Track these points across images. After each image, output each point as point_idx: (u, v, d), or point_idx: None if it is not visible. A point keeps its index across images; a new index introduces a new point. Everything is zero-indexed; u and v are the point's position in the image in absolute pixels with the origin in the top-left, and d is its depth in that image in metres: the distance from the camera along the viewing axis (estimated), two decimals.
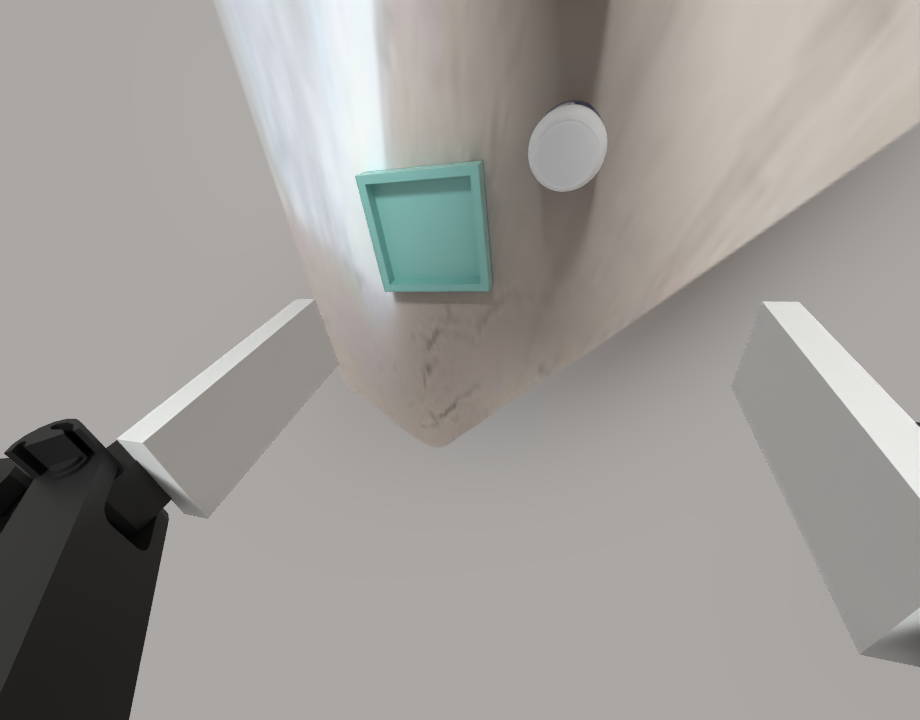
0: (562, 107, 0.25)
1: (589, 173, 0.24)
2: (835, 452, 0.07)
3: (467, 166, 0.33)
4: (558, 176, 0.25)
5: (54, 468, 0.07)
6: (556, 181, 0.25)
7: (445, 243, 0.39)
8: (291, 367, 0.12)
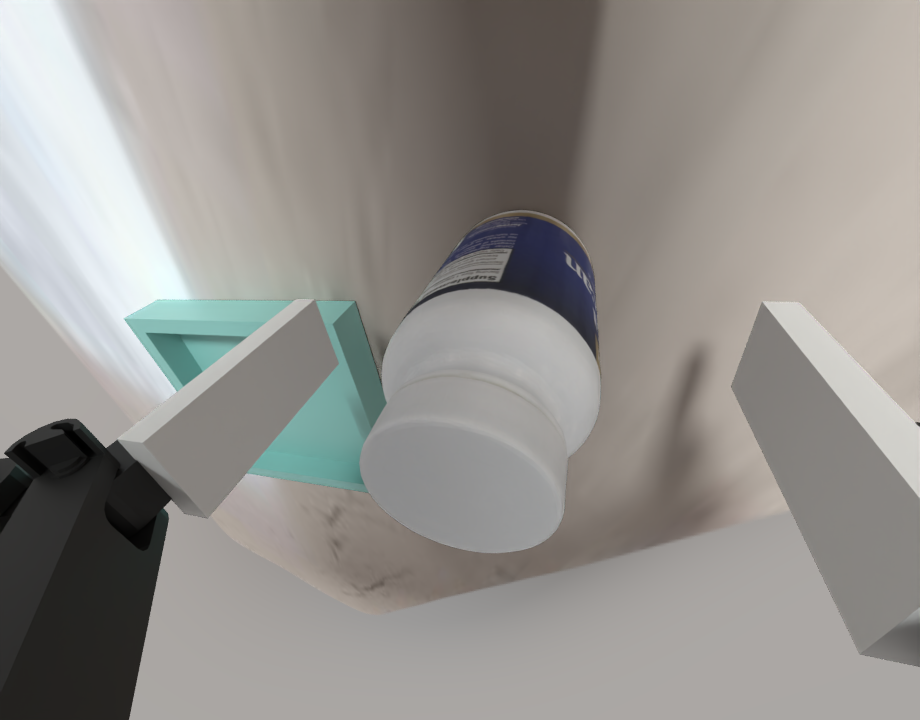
0: (456, 305, 0.08)
1: (538, 541, 0.07)
2: (835, 452, 0.07)
3: None
4: (443, 525, 0.08)
5: (54, 468, 0.07)
6: (440, 532, 0.08)
7: (317, 417, 0.22)
8: (291, 367, 0.12)
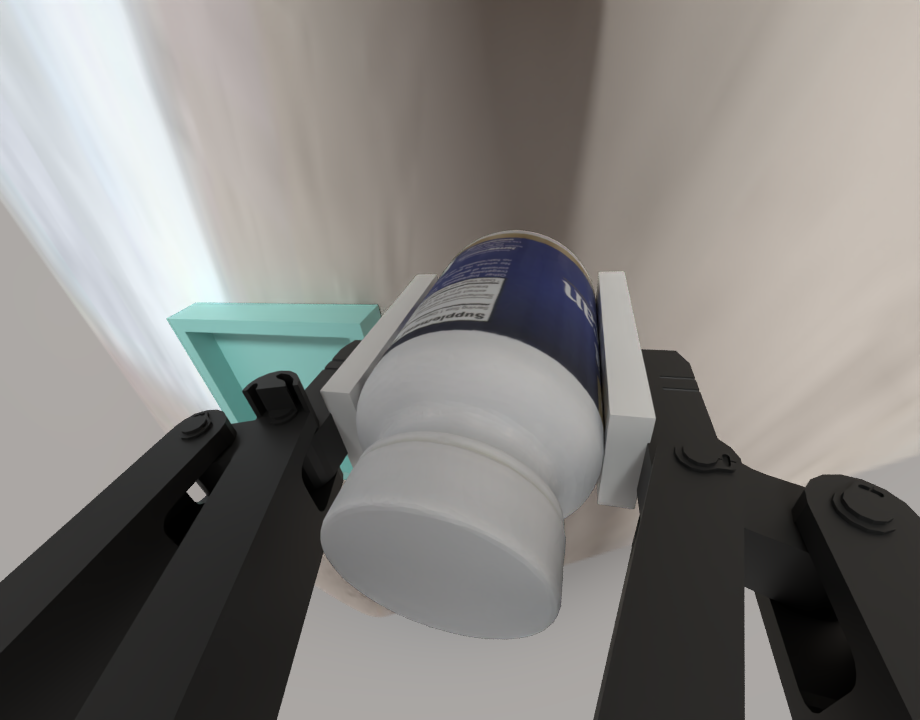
0: (436, 350, 0.07)
1: (530, 633, 0.06)
2: (601, 371, 0.09)
3: (342, 324, 0.18)
4: (420, 607, 0.07)
5: (272, 414, 0.08)
6: (417, 613, 0.07)
7: None
8: None
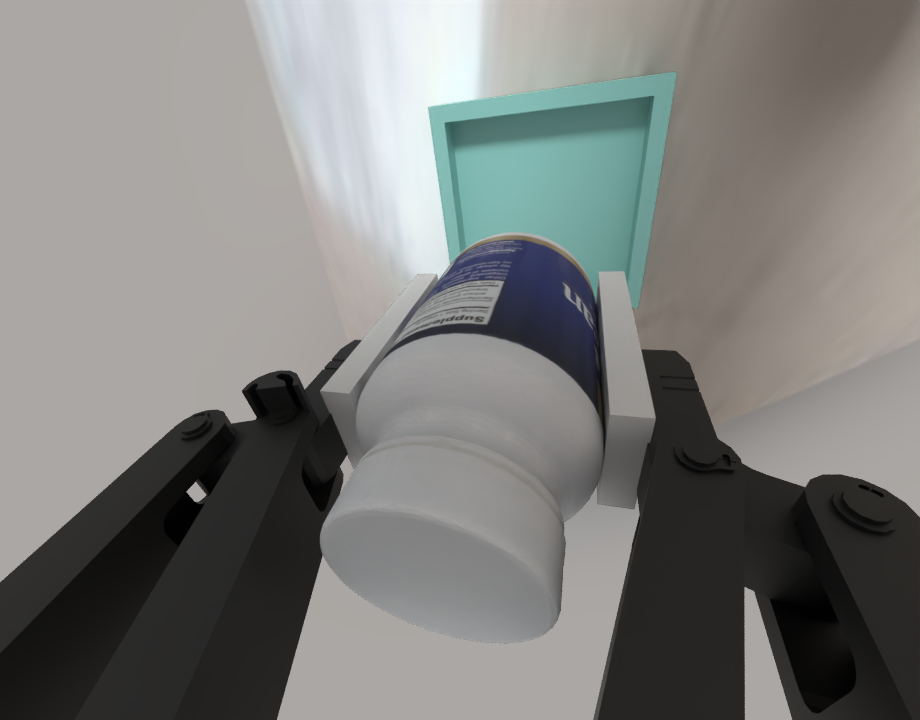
0: (436, 354, 0.07)
1: (530, 637, 0.06)
2: (601, 371, 0.09)
3: (653, 77, 0.17)
4: (420, 610, 0.07)
5: (272, 414, 0.08)
6: (417, 617, 0.07)
7: (567, 229, 0.24)
8: None
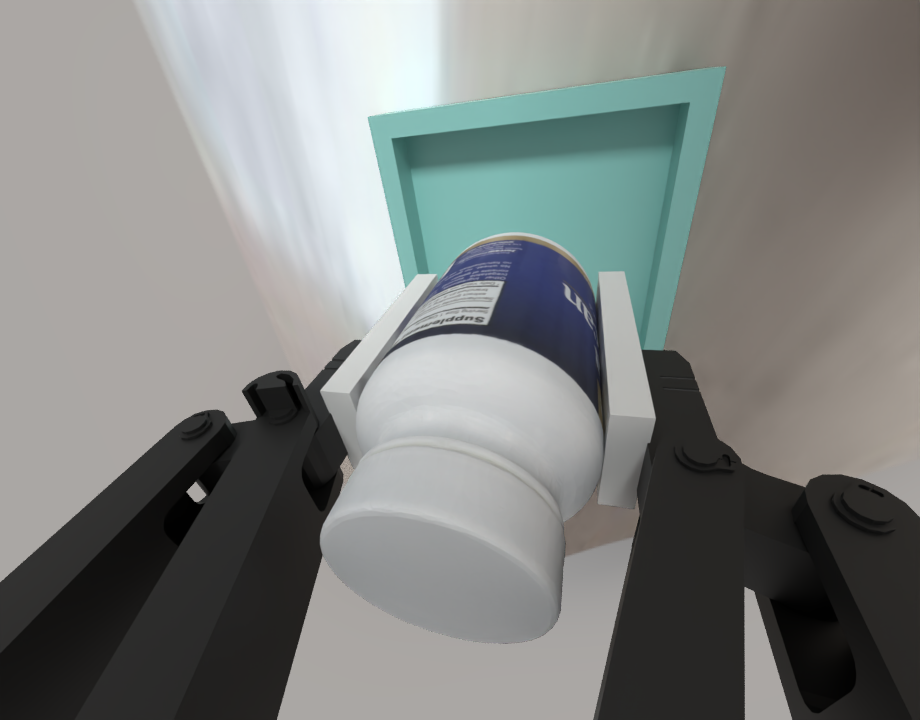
0: (436, 354, 0.07)
1: (530, 637, 0.06)
2: (601, 371, 0.09)
3: (689, 74, 0.12)
4: (419, 611, 0.07)
5: (272, 414, 0.08)
6: (417, 617, 0.07)
7: None
8: None
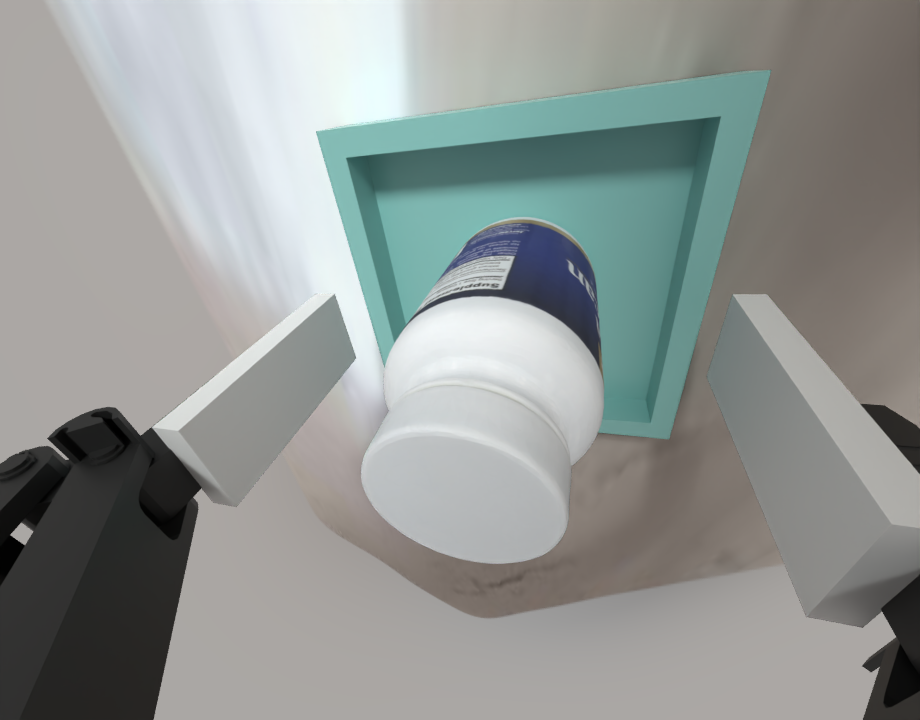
0: (459, 313, 0.08)
1: (542, 552, 0.07)
2: (789, 432, 0.07)
3: (721, 80, 0.09)
4: (445, 535, 0.08)
5: (93, 455, 0.08)
6: (441, 542, 0.08)
7: None
8: (312, 360, 0.12)
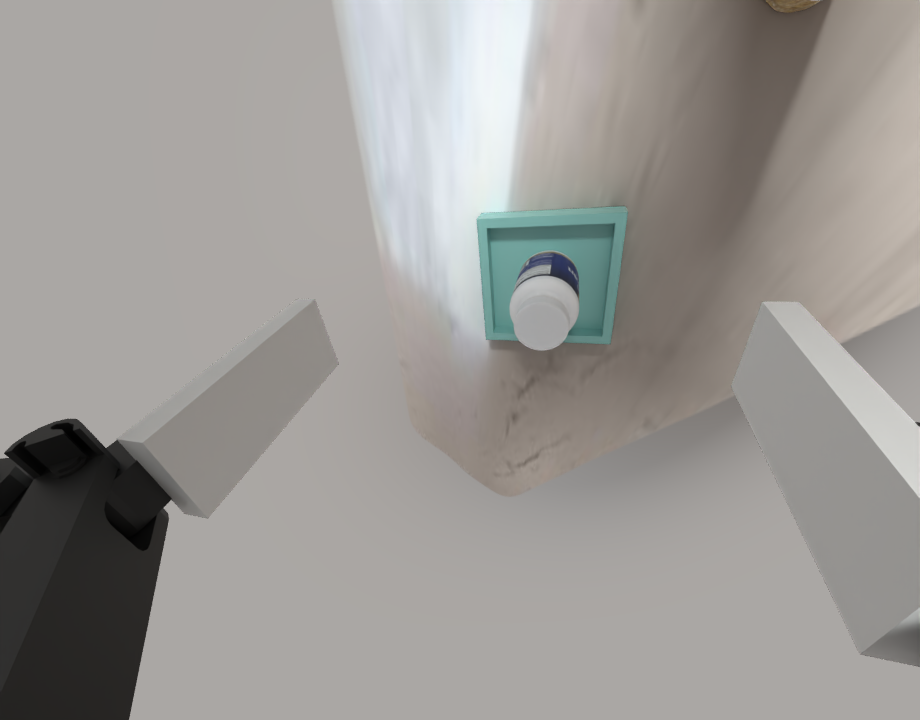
0: (539, 279, 0.28)
1: (562, 341, 0.28)
2: (835, 452, 0.07)
3: (614, 213, 0.30)
4: (535, 340, 0.28)
5: (54, 468, 0.07)
6: (533, 343, 0.28)
7: None
8: (291, 367, 0.12)
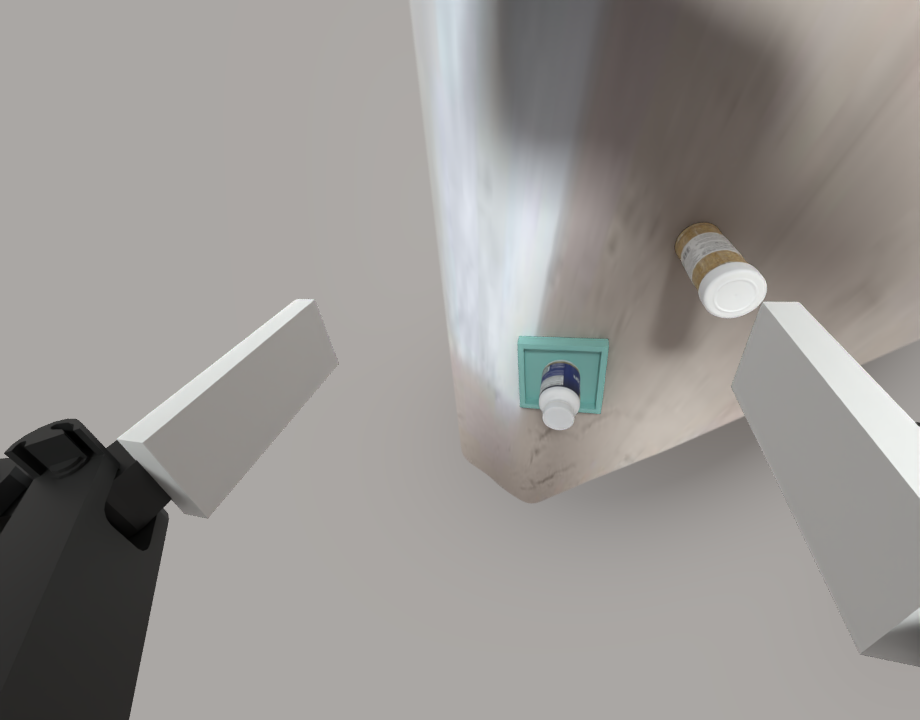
0: (556, 389, 0.49)
1: (570, 426, 0.49)
2: (835, 452, 0.07)
3: (601, 347, 0.50)
4: (554, 425, 0.49)
5: (54, 468, 0.07)
6: (553, 426, 0.49)
7: None
8: (291, 367, 0.12)
